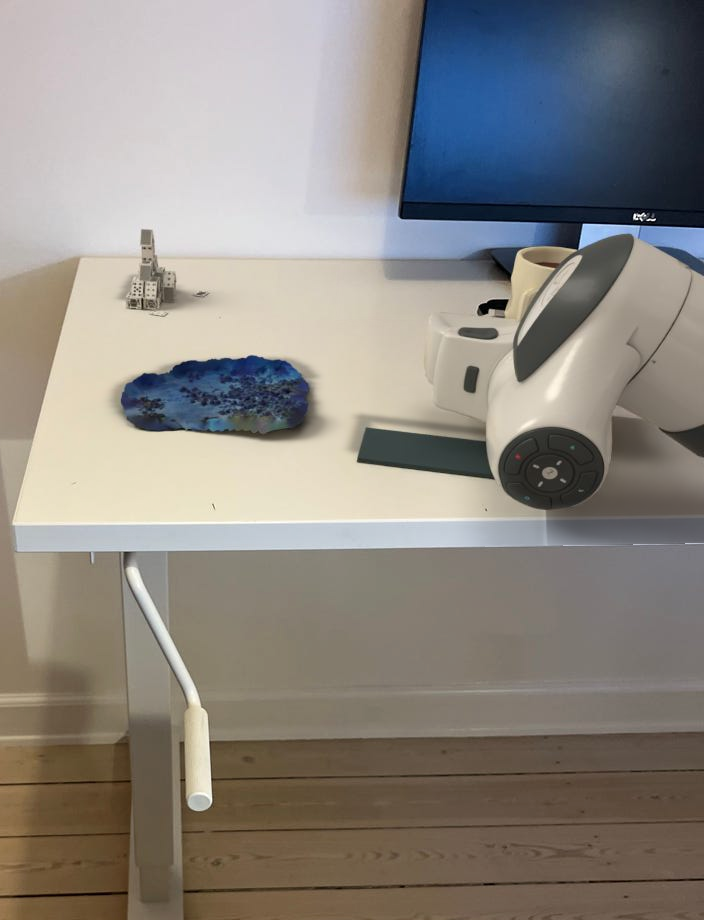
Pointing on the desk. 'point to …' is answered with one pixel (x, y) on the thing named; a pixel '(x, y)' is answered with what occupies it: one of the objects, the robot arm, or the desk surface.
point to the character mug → (531, 276)
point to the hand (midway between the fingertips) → (542, 322)
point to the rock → (218, 396)
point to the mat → (425, 452)
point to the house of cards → (152, 280)
